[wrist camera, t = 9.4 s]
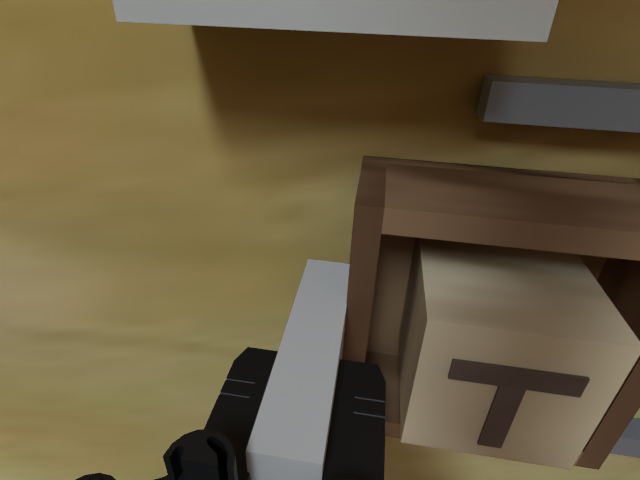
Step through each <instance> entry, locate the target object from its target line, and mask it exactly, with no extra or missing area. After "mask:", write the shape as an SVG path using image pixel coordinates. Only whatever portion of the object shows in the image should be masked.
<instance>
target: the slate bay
mask: <svg viewBox="0 0 640 480" xmlns="http://www.w3.org/2000/svg"><path fill="white" fill-rule="evenodd" d="M477 114H478V115H479V117H480V118H481V119H482V121H483V122H494V123H508V124H523V125H537V126H551V127H565V128H580V129H594V130H608V131H622V132H637V133H640V83H623V82H605V81H588V80H571V79H553V78H536V77H519V76H501V75H485V77H484V81H483V86H482V90H481V95H480V99H479V104H478V108H477ZM610 453H612V454H619V455H625V456H632V457H638V458H640V419H634V418H632V420H631V422H630V423H629V425H628V426H627V428H626V429H625V431H624V432H623V434H622V435H621V437H620V438H619V440H618V441H617V443H616V444H615V446H614V447H613V449H612V450H611V452H610Z"/></svg>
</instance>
